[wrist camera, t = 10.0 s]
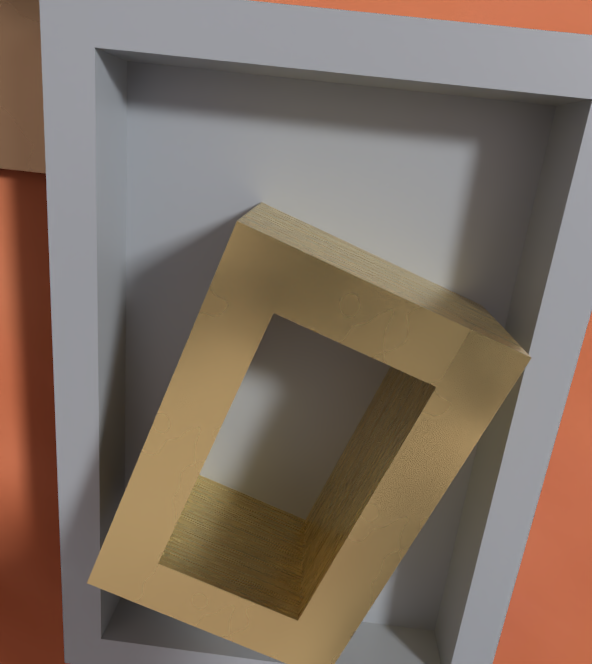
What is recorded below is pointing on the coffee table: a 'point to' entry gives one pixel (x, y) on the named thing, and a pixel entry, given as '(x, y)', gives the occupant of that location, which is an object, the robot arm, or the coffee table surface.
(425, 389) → the gold hollow rectangular block
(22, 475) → the coffee table surface
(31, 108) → the brown peg base plate
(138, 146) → the tray
